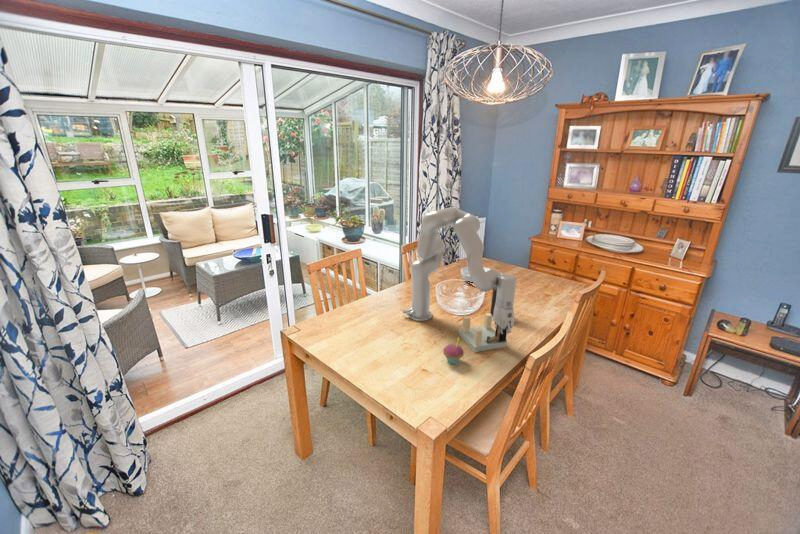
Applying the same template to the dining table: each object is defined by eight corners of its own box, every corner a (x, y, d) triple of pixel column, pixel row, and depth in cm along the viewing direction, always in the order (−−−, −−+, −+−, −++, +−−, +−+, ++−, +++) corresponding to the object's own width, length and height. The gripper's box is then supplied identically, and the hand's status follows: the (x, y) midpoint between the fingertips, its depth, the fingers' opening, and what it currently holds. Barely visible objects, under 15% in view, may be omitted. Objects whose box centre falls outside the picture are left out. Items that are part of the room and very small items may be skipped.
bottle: (504, 313, 189) (508, 279, 182) (501, 318, 184) (505, 283, 177) (492, 310, 192) (496, 276, 185) (488, 315, 187) (492, 281, 180)
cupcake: (460, 355, 153) (462, 331, 149) (464, 367, 145) (467, 342, 141) (441, 355, 152) (442, 331, 148) (444, 367, 144) (445, 342, 140)
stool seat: (474, 352, 155) (476, 333, 152) (458, 333, 169) (460, 316, 166) (506, 346, 159) (508, 327, 156) (488, 329, 174) (490, 311, 170)
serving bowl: (455, 277, 239) (455, 267, 237) (482, 273, 245) (483, 264, 242) (469, 288, 220) (470, 278, 218) (498, 285, 226) (499, 275, 224)
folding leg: (488, 343, 157) (489, 329, 154) (485, 340, 159) (486, 326, 157) (504, 341, 158) (505, 327, 156) (501, 338, 161) (503, 324, 158)
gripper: (523, 309, 146) (517, 347, 153) (502, 293, 161) (498, 328, 167) (507, 311, 145) (502, 349, 151) (487, 295, 159) (484, 331, 166)
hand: (500, 338), depth 159 cm, fingers closed on folding leg, 2 cm apart
